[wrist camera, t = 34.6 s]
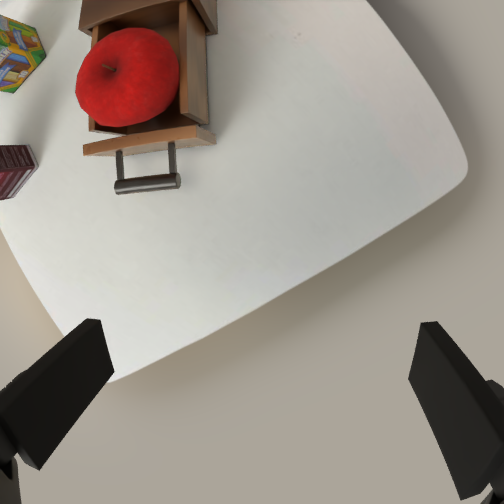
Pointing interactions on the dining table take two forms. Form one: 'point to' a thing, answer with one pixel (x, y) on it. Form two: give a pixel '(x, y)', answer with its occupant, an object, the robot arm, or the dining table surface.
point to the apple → (128, 78)
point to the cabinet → (125, 3)
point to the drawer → (177, 114)
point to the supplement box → (15, 168)
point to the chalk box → (17, 53)
